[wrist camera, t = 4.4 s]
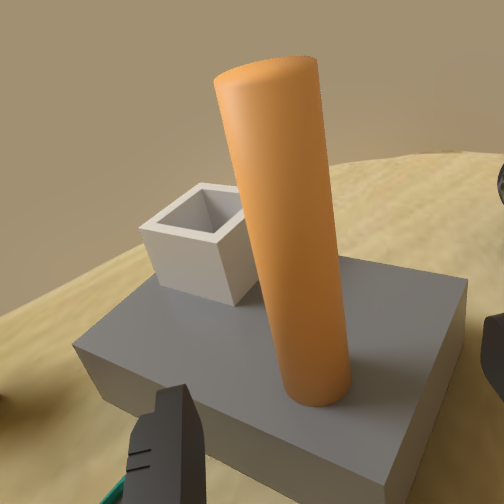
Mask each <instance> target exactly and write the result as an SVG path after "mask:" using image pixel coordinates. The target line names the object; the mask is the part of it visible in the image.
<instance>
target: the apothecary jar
mask: <svg viewBox="0 0 504 504" xmlns="http://www.w3.org/2000/svg"><path fill="white" fill-rule="evenodd" d="M497 185H498V193H499V196H500V199H501V201H502V203H503V204H504V164H503V166H502V168H501V170H500V173H499V176H498V183H497Z"/></svg>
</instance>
